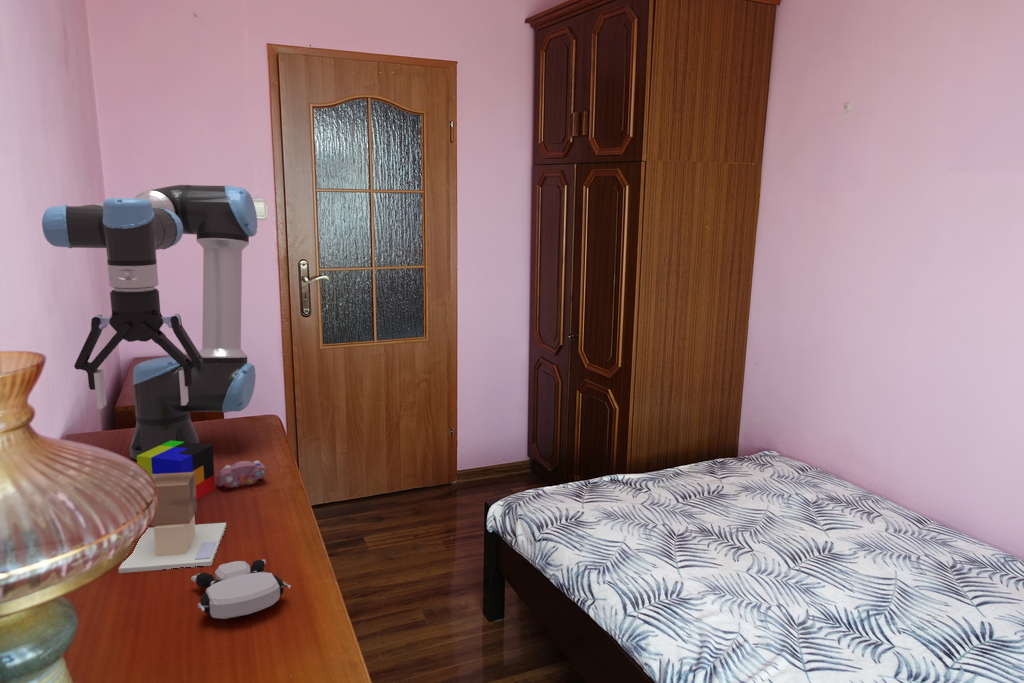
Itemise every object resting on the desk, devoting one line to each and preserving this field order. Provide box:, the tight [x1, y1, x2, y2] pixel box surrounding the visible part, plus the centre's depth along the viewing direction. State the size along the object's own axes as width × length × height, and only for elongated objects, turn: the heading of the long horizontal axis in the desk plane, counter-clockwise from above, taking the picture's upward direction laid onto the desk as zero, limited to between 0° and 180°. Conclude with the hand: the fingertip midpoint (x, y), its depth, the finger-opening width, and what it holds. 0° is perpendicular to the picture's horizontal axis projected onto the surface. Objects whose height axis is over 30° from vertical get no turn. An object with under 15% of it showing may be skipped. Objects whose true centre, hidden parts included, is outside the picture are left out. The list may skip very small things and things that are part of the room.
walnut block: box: [150, 472, 198, 527], centre depth 119 cm, size 6×6×7 cm
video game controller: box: [216, 459, 267, 489], centre depth 148 cm, size 10×5×7 cm, turn 123°
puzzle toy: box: [136, 441, 216, 501], centre depth 142 cm, size 10×10×10 cm
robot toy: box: [190, 559, 291, 620], centre depth 105 cm, size 12×4×15 cm
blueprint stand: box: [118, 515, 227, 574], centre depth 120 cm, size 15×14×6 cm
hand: (144, 405), depth 124 cm, fingers open, 13 cm apart
